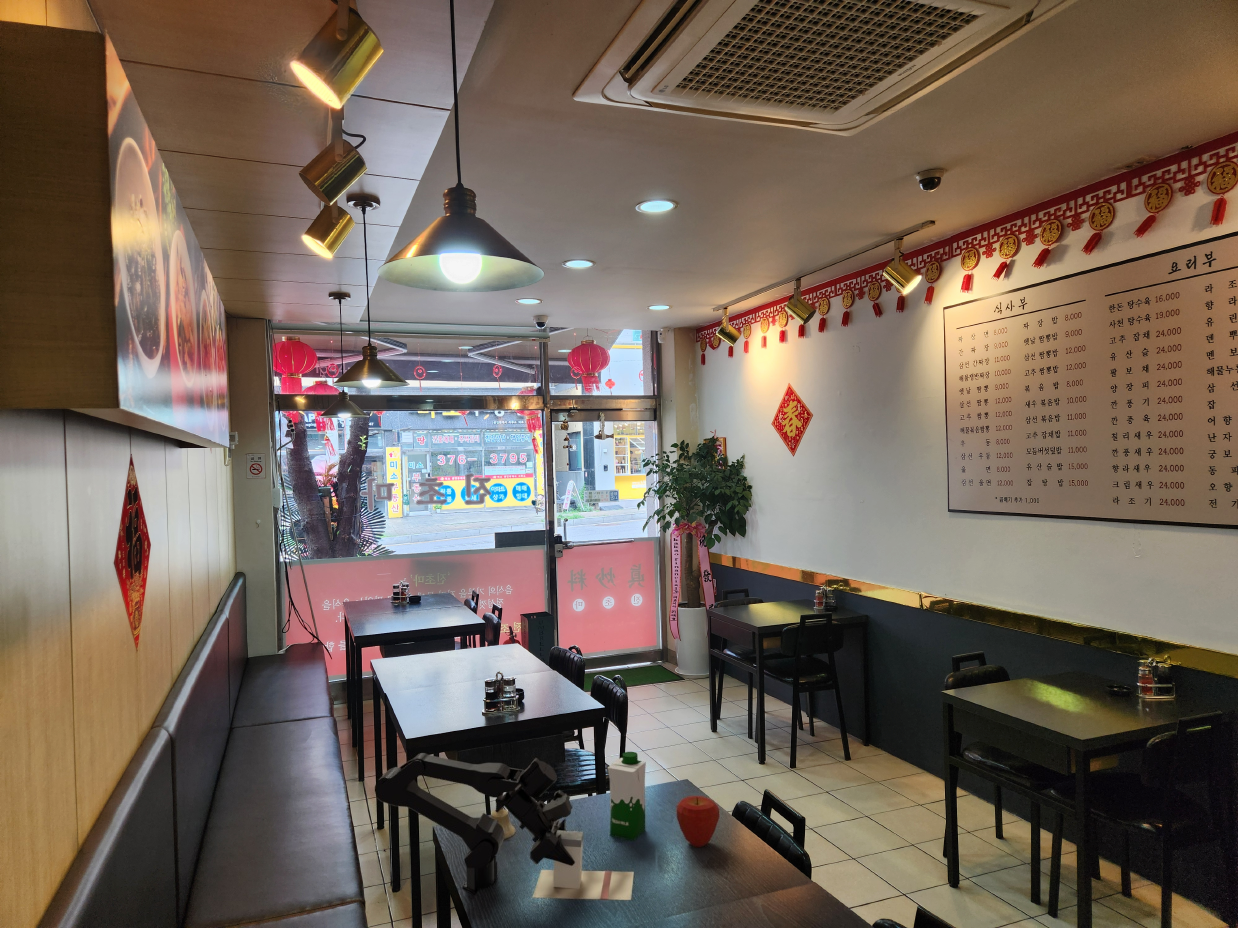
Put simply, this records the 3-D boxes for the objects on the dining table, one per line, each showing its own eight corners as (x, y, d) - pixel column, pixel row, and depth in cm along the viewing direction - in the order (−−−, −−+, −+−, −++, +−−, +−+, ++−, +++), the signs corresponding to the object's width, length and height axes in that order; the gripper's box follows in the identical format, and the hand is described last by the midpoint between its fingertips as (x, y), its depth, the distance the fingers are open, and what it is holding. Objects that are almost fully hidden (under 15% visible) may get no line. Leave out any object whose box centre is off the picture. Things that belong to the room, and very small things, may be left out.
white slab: (552, 886, 176) (554, 838, 176) (555, 877, 180) (557, 829, 180) (579, 888, 175) (581, 840, 175) (581, 879, 179) (583, 831, 179)
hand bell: (518, 825, 209) (517, 766, 210) (511, 840, 201) (510, 778, 201) (488, 825, 210) (488, 766, 211) (480, 839, 202) (479, 778, 202)
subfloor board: (532, 901, 172) (532, 896, 172) (541, 873, 184) (541, 869, 184) (630, 904, 170) (630, 899, 170) (633, 875, 182) (633, 871, 182)
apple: (727, 849, 195) (726, 801, 195) (689, 857, 191) (688, 808, 191) (706, 830, 205) (705, 785, 205) (670, 838, 201) (669, 791, 201)
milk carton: (649, 828, 207) (648, 753, 207) (634, 843, 199) (633, 765, 199) (620, 822, 211) (619, 748, 211) (604, 836, 203) (603, 759, 203)
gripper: (544, 802, 169) (595, 854, 168) (557, 770, 187) (603, 816, 186) (508, 838, 169) (559, 890, 168) (525, 802, 188) (571, 848, 187)
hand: (574, 859), depth 177 cm, fingers closed on white slab, 4 cm apart
